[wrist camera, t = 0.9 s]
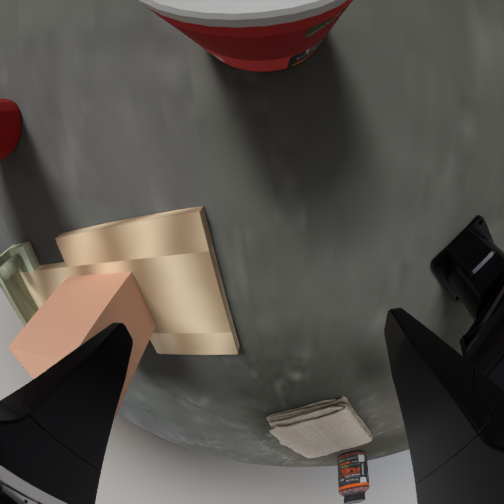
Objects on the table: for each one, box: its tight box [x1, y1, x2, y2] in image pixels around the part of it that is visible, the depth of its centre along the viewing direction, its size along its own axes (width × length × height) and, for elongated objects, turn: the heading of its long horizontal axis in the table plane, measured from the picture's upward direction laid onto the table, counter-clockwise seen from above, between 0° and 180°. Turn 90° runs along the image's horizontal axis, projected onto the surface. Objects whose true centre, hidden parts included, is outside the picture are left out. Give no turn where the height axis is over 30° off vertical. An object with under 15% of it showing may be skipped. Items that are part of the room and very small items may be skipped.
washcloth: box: [266, 395, 373, 458], centre depth 33 cm, size 12×18×3 cm, turn 33°
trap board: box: [0, 206, 240, 355], centre depth 23 cm, size 25×14×4 cm, turn 99°
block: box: [9, 271, 156, 417], centre depth 19 cm, size 8×6×10 cm
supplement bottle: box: [338, 451, 369, 504], centre depth 36 cm, size 6×6×11 cm
